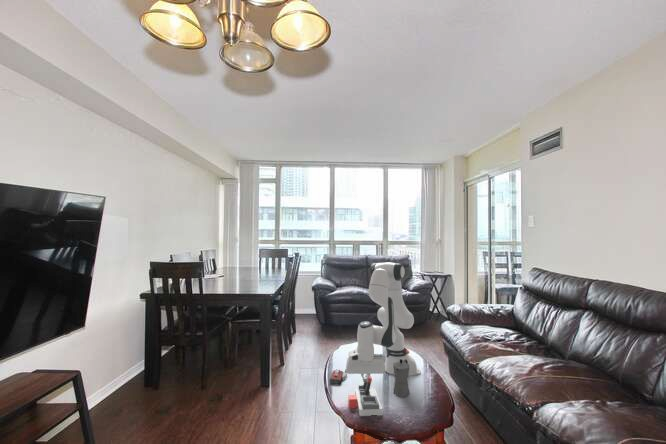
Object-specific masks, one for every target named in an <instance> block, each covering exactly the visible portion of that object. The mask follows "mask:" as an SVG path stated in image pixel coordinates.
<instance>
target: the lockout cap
mask: <svg viewBox="0 0 666 444" xmlns="http://www.w3.org/2000/svg"><path fill="white" fill-rule="evenodd" d="M347 404H348V409H358V406H357V397H356V395H355V394H348V402H347Z"/></svg>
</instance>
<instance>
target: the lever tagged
mask: <svg viewBox="0 0 666 444" xmlns="http://www.w3.org/2000/svg"><path fill="white" fill-rule="evenodd" d="M372 381H373V378H372V376H370V377H369V378H368V382H367V383H366V388H365V392H364V395H368V394H369V390H370V389H371V385H372Z"/></svg>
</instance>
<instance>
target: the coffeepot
mask: <svg viewBox="0 0 666 444" xmlns="http://www.w3.org/2000/svg"><path fill="white" fill-rule="evenodd" d="M402 361H403V362H402ZM393 368H394V384H393V395H395V394H396V396H397V397H402V398H407V397H409V396H410V393H411V392H410V388H409V383H408V382H409V381H408V379H409V376H408V374H409V364H408V362H407V360H406V359H405V360H402V359H400V362H395V363H393ZM408 395H409V396H408ZM406 396H407V397H406Z"/></svg>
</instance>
